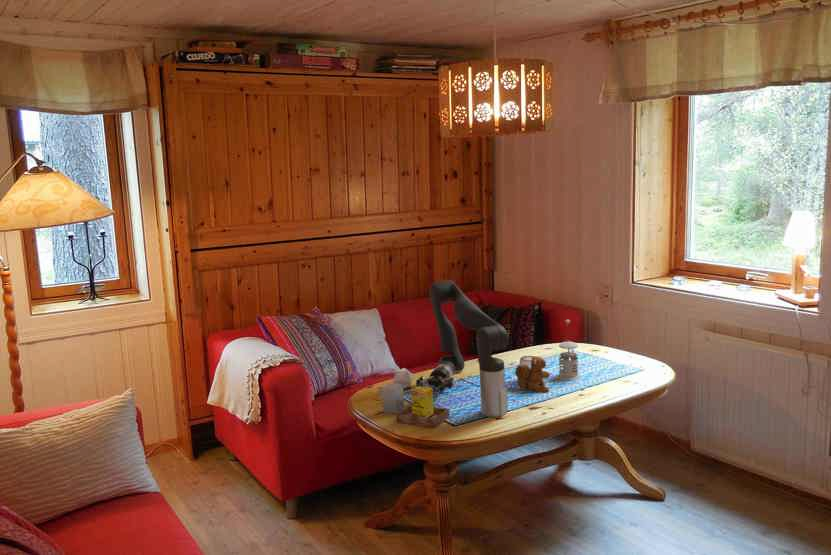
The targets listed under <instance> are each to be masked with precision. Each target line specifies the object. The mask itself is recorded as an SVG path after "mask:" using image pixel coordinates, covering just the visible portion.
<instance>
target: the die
mask: <svg viewBox="0 0 831 555" xmlns="http://www.w3.org/2000/svg"><path fill="white" fill-rule="evenodd" d="M413 378H414V374H413V373H412V372H410V371H409V370H408V369H407V368H405V367H403V368H401V369H398V370H396V371H395V372H394V377H393V380H392V383H394V384H403V390H405V389H407V388H411V385H412V382H413Z"/></svg>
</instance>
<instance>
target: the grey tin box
mask: <svg viewBox="0 0 831 555" xmlns="http://www.w3.org/2000/svg"><path fill="white" fill-rule="evenodd" d="M381 398H382V399H381V401H382V413H383V414H390V415H391V414H392V415H396V414H398V413H399V412H400V411H402V410H403V409H405V398H404V389H403V384H394V383H393V382H392V383H391V382H388V383H387V384H385V385H384V386H382V387H381Z"/></svg>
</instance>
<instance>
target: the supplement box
mask: <svg viewBox="0 0 831 555" xmlns="http://www.w3.org/2000/svg"><path fill="white" fill-rule="evenodd" d="M433 388H434V387H422V386H418V387H414V388H413V389H411V390H410V394H411V396H410V398H411V404H412V416H417V417H424V418H431V417H432V416H434V409H433V407H434V389H433Z"/></svg>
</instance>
